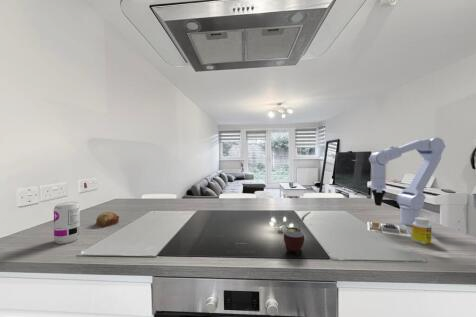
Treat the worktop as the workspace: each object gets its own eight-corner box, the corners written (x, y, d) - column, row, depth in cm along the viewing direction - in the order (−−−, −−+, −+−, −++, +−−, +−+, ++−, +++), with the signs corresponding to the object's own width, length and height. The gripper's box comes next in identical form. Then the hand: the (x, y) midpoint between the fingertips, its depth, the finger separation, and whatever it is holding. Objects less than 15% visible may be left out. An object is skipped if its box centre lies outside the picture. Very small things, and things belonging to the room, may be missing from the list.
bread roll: (98, 229, 108) (90, 217, 106) (118, 217, 115) (110, 205, 112) (102, 235, 101) (93, 221, 99) (123, 221, 107) (115, 209, 105)
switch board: (367, 224, 105) (367, 218, 105) (405, 230, 97) (405, 223, 97) (367, 233, 93) (367, 227, 93) (411, 240, 85) (411, 233, 85)
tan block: (372, 227, 96) (372, 220, 96) (378, 228, 95) (378, 221, 95) (372, 229, 94) (372, 222, 94) (378, 230, 92) (378, 223, 92)
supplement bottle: (428, 249, 77) (428, 221, 77) (409, 244, 81) (409, 218, 81) (433, 246, 80) (433, 219, 80) (415, 241, 84) (415, 215, 84)
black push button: (385, 227, 95) (385, 223, 95) (394, 228, 93) (394, 224, 93) (386, 229, 92) (386, 225, 92) (395, 231, 90) (395, 226, 90)
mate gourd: (280, 249, 77) (280, 208, 77) (298, 246, 80) (298, 206, 80) (292, 258, 70) (292, 213, 70) (311, 254, 73) (311, 211, 73)
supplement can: (54, 246, 80) (53, 207, 80) (54, 239, 86) (53, 203, 86) (80, 240, 85) (80, 203, 85) (78, 235, 92) (78, 200, 91)
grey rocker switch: (398, 226, 94) (398, 224, 93) (405, 227, 92) (405, 225, 92) (400, 230, 90) (400, 228, 90) (407, 231, 89) (407, 229, 88)
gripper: (368, 175, 109) (368, 201, 110) (368, 178, 97) (368, 207, 97) (384, 176, 106) (384, 203, 106) (387, 178, 93) (387, 209, 94)
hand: (378, 205), depth 101 cm, fingers closed
